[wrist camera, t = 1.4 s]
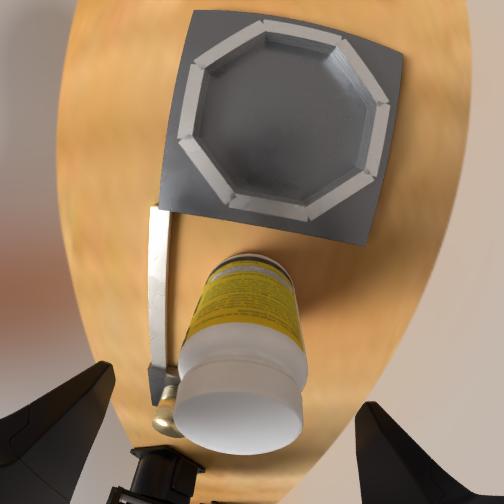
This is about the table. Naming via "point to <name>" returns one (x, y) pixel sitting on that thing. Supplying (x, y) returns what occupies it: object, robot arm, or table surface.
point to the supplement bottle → (243, 361)
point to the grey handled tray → (268, 144)
